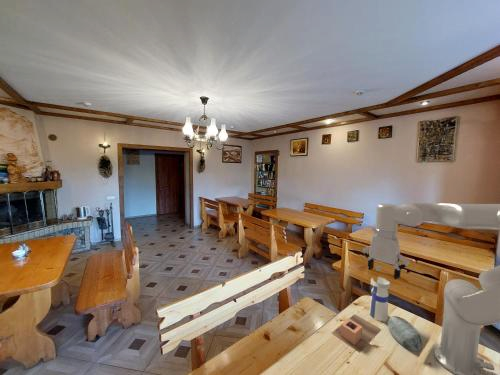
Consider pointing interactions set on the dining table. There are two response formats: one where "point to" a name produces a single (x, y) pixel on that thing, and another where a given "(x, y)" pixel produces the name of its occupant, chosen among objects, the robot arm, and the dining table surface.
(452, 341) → the robot arm
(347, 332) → the orange hollow square block
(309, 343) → the dining table surface
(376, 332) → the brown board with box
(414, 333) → the grey streaked oval part
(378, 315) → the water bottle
